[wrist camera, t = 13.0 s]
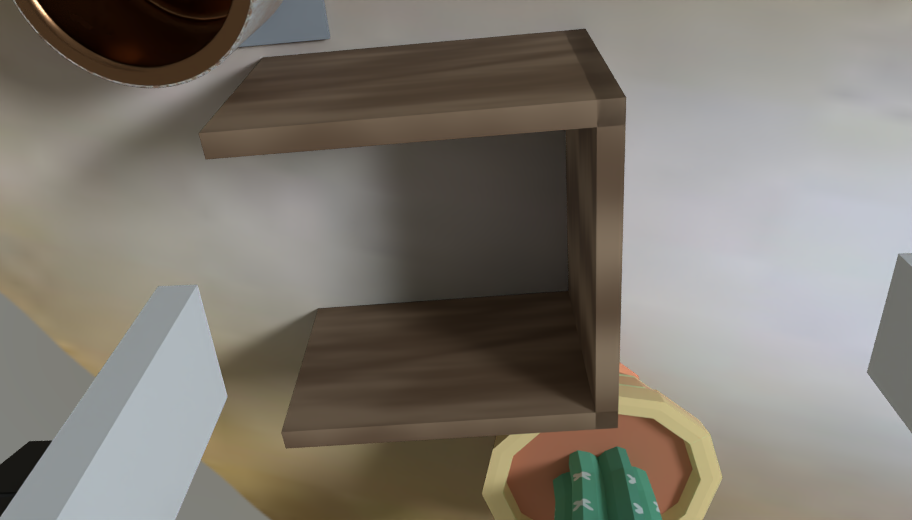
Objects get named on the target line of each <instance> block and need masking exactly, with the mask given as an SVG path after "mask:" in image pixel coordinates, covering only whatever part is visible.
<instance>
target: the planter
mask: <svg viewBox="0 0 912 520" xmlns="http://www.w3.org/2000/svg"><path fill="white" fill-rule="evenodd" d="M282 1H283V0H13V2H14V4H15V5H16V7H17V8H18V10H19V11H20V13H21V14H22V16H23V17H24V18H25V20H26V21H27V22H28V23H29V25H30V26H31V27H32V28H33V30H34V31H35V32H36V33H37V34H38V35H39V36H40V37H41V38H42V39H43V40H44V41H45V42H46V43H47V44H48V45H49V46H50V47H52V48H53V49H54V50H55V51H56V52H58V53H59V54H60V55H61V56H63V57H64V58H65V59H67V60H68V61H70V62H71V63H73V64H74V65H76V66H78V67H80V68H81V69H83V70H85V71H87V72H89V73H91V74H93V75H95V76H98V77H100V78H102V79H105V80H108V81H111V82H114V83H118V84H122V85H127V86H132V87H140V88H163V87H171V86H176V85H180V84H184V83H187V82H190V81H192V80H195V79H197V78H199V77H201V76H203V75H205V74H207V73H208V72H210V71H211V70H213V69H214V68H216V67H217V66H218V65H220V64H221V63H222V62H223V61H224V60H225V59H226V58H227V57H228V56H229V55H230V54H231V53H232V52H233V51H234V50H235V49H236V48H238V47H239V46H240V45H241V44H242V43H243V42H244V41H245V40H246V39H247V38H248V37H249V36H250V35H252V34H253V33H254V32H255V31H256V30H257V29H258V28H259V27H260V26H262V25H263V24H264V23H265V22H266V21H267V20H268V19H269V18H270V17H271V16H272V15H273V14H274V13H275V11H276V10H277V9H278V7H279V6H280V4H281V3H282Z"/></svg>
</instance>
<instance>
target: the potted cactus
mask: <svg viewBox="0 0 912 520" xmlns="http://www.w3.org/2000/svg"><path fill="white" fill-rule="evenodd" d="M721 480H722V474H721V471H720V467H719V464H718V460H717V457H716V454H715V450H714V447H713V443H712V440H711V436H710V434H709V432H708V431H707V430H706V429H705V427H704V426H703V425H702V423H701V422H700V421H699V420H698V419H697V418H695V417H694V416H692V415H691V414H690V413H688V412H687V411H685V410H684V409H683V408H681V407H680V406H678V405H677V404H676V403H674V402H673V401H671V400H670V399H669V398H667V397H666V396H664V395H663V394H661V393H660V392H659V391H657V390H652V389H651V388H650V387H648V386H647V385H645V384H644V383H643V382H641V381H640V380H639V377H638V375H636V374H635V373H634V372H632V371H631V370H629V369H628V368H627V367H625V366H624V365H622V364H621V363H619V403H618V428H611V429H595V430H578V431H562V432H546V433H529V434H513V435H497V436H496V439H495V443H494V447H493V451H492V455H491V459H490V463H489V467H488V471H487V475H486V479H485V483H484V487H483V491H482V496H483V498H484V499H485V501H486V503H487V505H488V507H489V509H490V511H491V513H492V515H493V517H494V519H495V520H703V518H704V516H705V514H706V512H707V509H708V507H709V505H710V503H711V501H712V499H713V497H714V495H715V493H716V490H717V488H718V486H719V484H720V482H721Z"/></svg>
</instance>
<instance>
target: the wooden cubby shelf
mask: <svg viewBox="0 0 912 520" xmlns="http://www.w3.org/2000/svg"><path fill="white" fill-rule="evenodd" d="M625 122H626V96H625V95H624V93H623V91H622V90H621V88H620V86H619V85H618V83H617V81H616V80H615V78H614V76H613V74H612V73H611V71H610V69H609V68H608V66H607V64H606V63H605V61H604V59H603V58H602V56H601V54H600V53H599V51H598V49H597V47H596V46H595V44H594V42H593V41H592V39H591V37H590V36H589V34H588V32H587V31H586V29H579V30H567V31H556V32H545V33H534V34H523V35H511V36H500V37H489V38H478V39H466V40H455V41H444V42H433V43H421V44H410V45H399V46H388V47H376V48H365V49H354V50H343V51H332V52H320V53H309V54H298V55H287V56H275V57H264V58H262V59H261V61H260V62H259V63H258V64H257V65H256V66H255V68H254V69H253V70H252V71H251V72H250V74H249V75H248V76H247V77H246V78H245V79H244V81H243V82H242V83H241V84H240V85H239V86H238V88H237V89H236V90H235V91H234V92H233V93H232V95H231V96H230V97H229V98H228V99H227V101H226V102H225V103H224V104H223V105H222V106H221V108H220V109H219V110H218V111H217V112H216V113H215V115H214V116H213V117H212V118H211V119H210V121H209V122H208V123H207V124H206V125H205V126H204V128H203V129H202V130H201V131H200V132H199V137H200V140H201V144H202V148H203V151H204V155H205V158H206V159H216V158H228V157H240V156H252V155H265V154H277V153H289V152H301V151H313V150H325V149H338V148H350V147H362V146H374V145H386V144H398V143H411V142H423V141H435V140H447V139H459V138H472V137H484V136H496V135H508V134H520V133H532V132H545V131H557V130H565V131H566V188H567V246H568V291H560V292H546V293H532V294H518V295H504V296H489V297H475V298H461V299H447V300H433V301H419V302H405V303H391V304H377V305H363V306H348V307H334V308H320V309H318V311H317V314H316V318H315V321H314V324H313V328H312V331H311V334H310V338H309V341H308V345H307V348H306V351H305V355H304V358H303V361H302V365H301V368H300V371H299V375H298V378H297V381H296V385H295V388H294V391H293V395H292V398H291V402H290V405H289V408H288V412H287V415H286V418H285V422H284V425H283V428H282V432H281V433H282V436H283V440H284V444H285V447H286V448H300V447H317V446H333V445H349V444H366V443H382V442H398V441H415V440H431V439H448V438H464V437H480V436H497V435H513V434H529V433H546V432H562V431H578V430H595V429H611V428H618V403H619V363H620V323H621V282H622V242H623V202H624V162H625Z"/></svg>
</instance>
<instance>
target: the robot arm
mask: <svg viewBox="0 0 912 520" xmlns="http://www.w3.org/2000/svg"><path fill="white" fill-rule="evenodd" d="M867 373H868V375H869V376H870V377H871V379H872V380H873V381H874V383H875V384H876V386H877V387H878V388H879V390H880V391H881V392H882V394H883V395H884V396H885V398H886V399H887V400H888V402H889V403H890V404H891V406H892V407H893V408H894V410H895V411H896V413H897V414H898V415H899V417H900V418H901V419H902V421H903V422H904V423H905V425H906V426H907V427H908V429H909V430H910V431H911V433H912V253H903V254H898V257H897V261H896V265H895V269H894V273H893V276H892V280H891V284H890V288H889V291H888V295H887V299H886V303H885V306H884V310H883V314H882V318H881V321H880V325H879V329H878V333H877V336H876V340H875V344H874V348H873V352H872V355H871V359H870V363H869V367H868V370H867ZM227 397H228V396H227V393H226V389H225V385H224V382H223V378H222V374H221V370H220V367H219V363H218V359H217V356H216V352H215V348H214V344H213V341H212V337H211V333H210V329H209V326H208V322H207V318H206V315H205V311H204V307H203V303H202V300H201V296H200V292H199V289H198V285H177V286H158V287H157V289H156V290H155V292H154V293H153V295H152V296H151V297H150V299H149V300H148V302H147V303H146V305H145V306H144V308H143V309H142V311H141V312H140V314H139V315H138V316H137V318H136V319H135V321H134V322H133V324H132V325H131V327H130V328H129V330H128V331H127V333H126V334H125V336H124V337H123V338H122V340H121V341H120V343H119V344H118V346H117V347H116V349H115V350H114V352H113V353H112V355H111V356H110V357H109V359H108V360H107V362H106V363H105V365H104V366H103V368H102V369H101V371H100V372H99V374H98V375H97V376H96V378H95V379H94V381H93V382H92V384H91V385H90V387H89V388H88V390H87V391H86V393H85V394H84V395H83V397H82V398H81V400H80V401H79V403H78V404H77V406H76V407H75V409H74V410H73V412H72V413H71V414H70V416H69V417H68V419H67V420H66V422H65V423H64V425H63V426H62V428H61V429H60V431H59V432H58V434H57V435H56V436H55V438H54V439H53V441H29V442H28V443H27V444H25V445H24V446H23V447H22V448H21V449H19V450H18V451H17V452H16V453H14V454H13V455H12V456H10V458H8V459H7V460H5V461H4V462H3V463H2V464H0V520H175V519H176V516H177V514H178V512H179V509H180V507H181V505H182V502H183V500H184V498H185V495H186V493H187V491H188V488H189V486H190V483H191V481H192V479H193V477H194V474H195V472H196V470H197V467H198V465H199V462H200V460H201V458H202V455H203V453H204V451H205V448H206V446H207V444H208V441H209V439H210V437H211V434H212V432H213V430H214V427H215V425H216V423H217V420H218V418H219V416H220V413H221V411H222V409H223V406H224V404H225V402H226V399H227Z"/></svg>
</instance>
